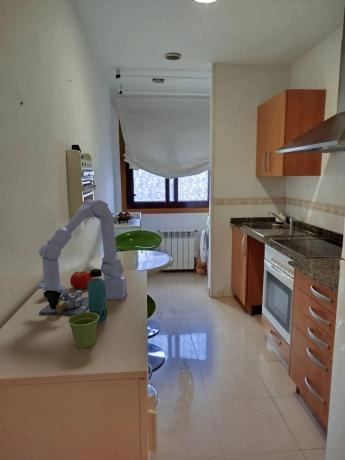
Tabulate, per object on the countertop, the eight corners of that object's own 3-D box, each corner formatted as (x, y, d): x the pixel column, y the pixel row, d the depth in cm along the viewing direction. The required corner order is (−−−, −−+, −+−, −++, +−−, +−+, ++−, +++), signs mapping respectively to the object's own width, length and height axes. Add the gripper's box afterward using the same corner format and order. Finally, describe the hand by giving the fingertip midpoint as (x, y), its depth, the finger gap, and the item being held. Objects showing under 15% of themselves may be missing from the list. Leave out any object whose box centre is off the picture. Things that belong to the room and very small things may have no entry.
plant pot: (93, 352, 99) (92, 325, 98) (64, 350, 101) (62, 323, 100) (104, 338, 109) (103, 313, 107) (77, 336, 110) (76, 311, 109)
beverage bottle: (91, 329, 115) (88, 273, 112) (87, 322, 121) (84, 269, 118) (110, 325, 118) (107, 270, 115) (104, 318, 124) (102, 266, 121)
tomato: (98, 285, 162) (97, 271, 161) (81, 292, 153) (80, 276, 152) (83, 282, 168) (82, 268, 167) (65, 288, 159) (64, 273, 158)
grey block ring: (87, 299, 141) (86, 289, 140) (72, 312, 126) (72, 302, 126) (62, 298, 142) (61, 288, 141) (45, 312, 128) (44, 301, 127)
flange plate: (96, 299, 143) (96, 297, 143) (81, 315, 127) (80, 313, 126) (59, 298, 145) (59, 296, 145) (39, 314, 129) (39, 311, 129)
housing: (78, 304, 138) (77, 292, 138) (73, 309, 133) (72, 297, 132) (65, 304, 139) (65, 292, 138) (59, 309, 134) (58, 296, 133)
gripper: (30, 275, 127) (32, 308, 130) (56, 280, 120) (59, 315, 122) (45, 270, 134) (47, 302, 136) (71, 275, 126) (73, 309, 129)
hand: (54, 308), depth 129 cm, fingers closed
